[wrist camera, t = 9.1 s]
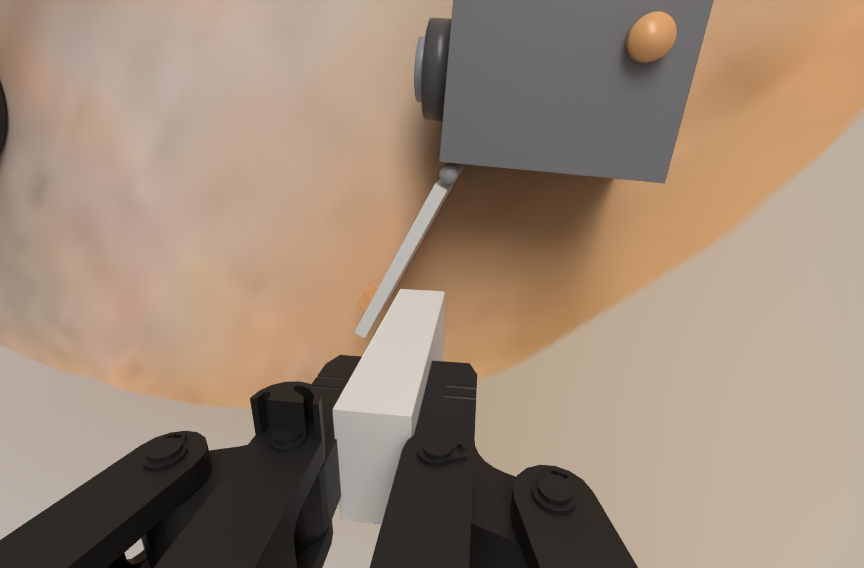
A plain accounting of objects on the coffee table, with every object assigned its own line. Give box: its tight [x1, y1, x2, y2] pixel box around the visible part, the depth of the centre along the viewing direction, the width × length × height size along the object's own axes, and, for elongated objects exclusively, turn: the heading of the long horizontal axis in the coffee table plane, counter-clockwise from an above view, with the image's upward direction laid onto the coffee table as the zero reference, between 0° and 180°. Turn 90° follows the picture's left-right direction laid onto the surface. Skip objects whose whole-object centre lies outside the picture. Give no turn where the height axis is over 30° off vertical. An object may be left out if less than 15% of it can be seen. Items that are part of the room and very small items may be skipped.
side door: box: [354, 163, 465, 338], centre depth 30 cm, size 12×2×8 cm, turn 151°
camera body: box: [414, 0, 713, 183], centre depth 25 cm, size 14×9×10 cm, turn 85°
